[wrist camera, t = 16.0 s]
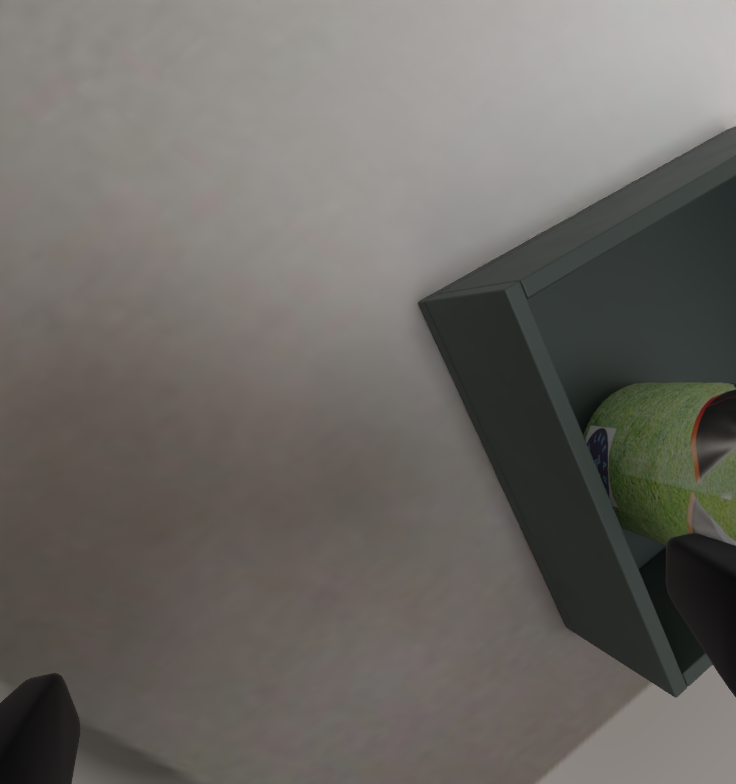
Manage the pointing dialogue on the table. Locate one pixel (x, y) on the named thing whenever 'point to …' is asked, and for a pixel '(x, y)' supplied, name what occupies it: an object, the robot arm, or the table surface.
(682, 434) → the beverage can
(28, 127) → the table surface
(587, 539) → the open square box
